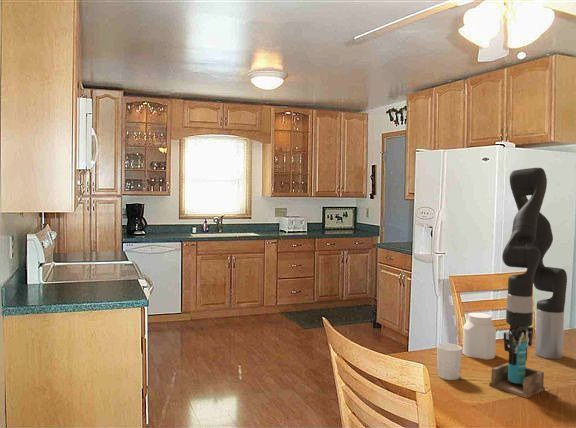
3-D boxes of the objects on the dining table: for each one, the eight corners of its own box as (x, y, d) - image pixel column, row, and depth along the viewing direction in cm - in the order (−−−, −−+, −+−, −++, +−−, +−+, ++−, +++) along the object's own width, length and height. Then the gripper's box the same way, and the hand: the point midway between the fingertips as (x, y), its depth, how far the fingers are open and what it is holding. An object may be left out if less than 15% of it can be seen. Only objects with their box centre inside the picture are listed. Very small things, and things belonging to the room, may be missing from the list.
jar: (496, 353, 194) (497, 314, 193) (493, 360, 185) (495, 320, 185) (464, 348, 199) (465, 310, 199) (460, 355, 191) (461, 316, 190)
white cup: (448, 382, 164) (449, 351, 163) (431, 374, 171) (431, 345, 170) (466, 378, 167) (467, 348, 167) (448, 371, 174) (449, 342, 174)
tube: (516, 386, 156) (518, 323, 155) (502, 380, 160) (504, 320, 159) (530, 381, 160) (532, 320, 159) (516, 376, 164) (518, 317, 163)
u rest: (507, 378, 168) (508, 361, 168) (544, 389, 159) (545, 372, 158) (489, 385, 161) (489, 368, 161) (526, 398, 152) (527, 380, 152)
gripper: (519, 303, 166) (517, 355, 167) (495, 309, 157) (494, 363, 158) (542, 308, 160) (541, 361, 161) (519, 314, 151) (517, 370, 152)
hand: (517, 362), depth 160 cm, fingers closed on tube, 5 cm apart
